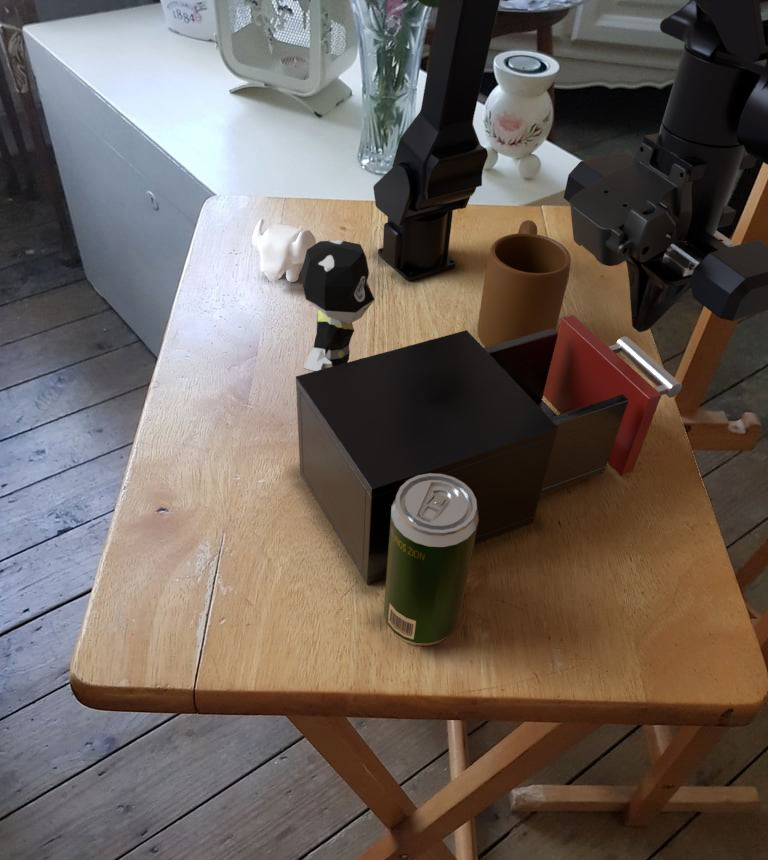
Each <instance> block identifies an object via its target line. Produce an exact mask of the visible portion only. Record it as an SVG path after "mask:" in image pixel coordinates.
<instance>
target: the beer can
mask: <svg viewBox="0 0 768 860" xmlns="http://www.w3.org/2000/svg"><path fill="white" fill-rule="evenodd" d="M478 521H479V519H478V510H477V502H476V498H475V496H474V494H473V492H472V490H471V489H470V488H469V487H468V486H467V485H466V484H465V483H463V482H461V481H460V480H458V479H456V478H454V477H451V476H447V475H444V474H433V473H429V474H423V475H418V476H416V477H413V478H411V479H409V480H407V481H406V482H405V483H404V484H403V485H402V486H401V487H400V489H399V491H398V493H397V495H396V498H395V500H394V502H393V504H392V506H391V520H390V533H389V546H388V559H387V572H386V578H385V585H384V586H385V587H384V599H383V601H384V602H383V617H384V619H385V622H386V625H387V626H388V627H389V629H390V630H391V631H392V632H393V634H394V635H395V636H396V637H397V638H399V639H400V640H401V641H403V642H405V643H408V644H411V645H414V646H420V647H421V646H422V647H423V646H424V647H427V646H432V645H436V644H438V643H440V642H441V641H443V640H445V639H446V638H448V637H450V635H451V634H452V633H453V632H454V631H455V629H457V626H458V625H459V624H458V623H459V621H460V617H461V613H462V607H463V602H464V597H465V592H466V587H467V583H468V577H469V572H470V567H471V561H472V556H473V551H474V546H475V545H474V542H475V537H476V531H477V526H478Z"/></svg>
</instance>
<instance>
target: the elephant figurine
mask: <svg viewBox="0 0 768 860" xmlns="http://www.w3.org/2000/svg"><path fill="white" fill-rule="evenodd" d="M264 223H265V219H263V218H261V219H260V220H258V222H257V224H256V225H255V228H254V230H253V233H252V237H251V244H252V247H253V249H254V251H255V252H256V253H257V254H258V255H259V256H260V264H259V269H260V274H261V275H260V276H263V273H264V275H265V276H266V278H267V280H268V281H269V282H271V283H273V284H276V283H277V282H278V281H279V279H281V278H282V277H283V275H284V274H285V277H286V280H287V281H288V282H291V283H294V282H297V281H298V279H299V276H300V273H301V270H302V267H303V264H304V260H305V256H306V252H307V249H309V248H310V247H312V246H313V245H315V244H316V243H317V241H316V237H315V235H314V234H313V232H311V230H310V229H303V228H302V225H299V227H295V226H291V225H286V224H282V223H274V224H272V225H271V226H270V227H268V229H267V230H266V231H265V232H264V233H262V232H263V231H262V229H263V227H264Z"/></svg>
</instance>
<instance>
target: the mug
mask: <svg viewBox="0 0 768 860" xmlns="http://www.w3.org/2000/svg"><path fill="white" fill-rule="evenodd" d="M571 263H572V257H571V254H570V252H569V250H568V249H567V247H565V245H563V244H562V243H561V242H559V241H557V240H555V239H553V238H551V237H548V236H544V235H540V234H538V225H537V224H536V222H534V221H533V220H530V219H528V220H524V221H522V222H521V223H520V225H519V228H518V233H513V234H512V233H511V234H507V235H504V236H502V237H500V238H497V240H495V241H494V242H493V243H492V245H491V247H490V251H489V255H488V259H487V262H486V268H485V274H484V280H483V287H482V292H481V293H482V294H481V300H480V308H479V314H478V321H477V335H478V338H479V341H480V342H481V343H482V345H483V346H484V348H485V347H488V346H492V345H496V344H499V343H503V342H506V341H510V340H513V339H517V338H520V337H524V336H527V335H531V334H535V333H538V332H542V331H545V330H549V329H554V330H555V331H556V332H557V327H558V322H559V319H560V315H561V311H562V307H563V303H564V299H565V295H566V290H567V286H568V281H569V276H570V269H571Z"/></svg>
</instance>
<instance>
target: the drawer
mask: <svg viewBox="0 0 768 860" xmlns="http://www.w3.org/2000/svg"><path fill="white" fill-rule="evenodd" d="M483 348H484V349H485V350H486V351H487V352H488V353H489V354H490V355H491V356H492V357H493V359H494V360H495V361H496V362H497V363H498V364H499V365H500V366H501V367H502V368H503V369H504V370H505V371H506V372H507V373H508V374H509V376H510V377H511V378H512V379H513V380H514V381H515V382H516V383H517V384H518V385H519V386H520V387H521V388H522V389H523V390H524V391H525V392H526V394H527V395H528V396H529V397H530V398H531V399H532V400H533V401H534V402H535V403H536V404H537V405H538V406H539V407H540V408H541V409H542V411H543V412H544V413H545V414H546V415H547V416H548V417H549V418H550V419H551V420H552V421H553V422H554V423H555V424H556V425H557V426H558V431H557V434H556V438H555V442H554V446H553V449H552V453H551V457H550V460H549V464H548V468H547V472H546V475H545V479H544V483H543V486H542V490H541V494H540V497H542V496H545V495H547V494H551V493H554V492H555V491H558V490H562V489H565V488H567V487H570V486H572V485H575V484H578V483H581V482H583V481H587V480H589V479H591V478H594V477H597V476H599V475H603V474H604V473H605V470H606V467H607V466H608V465H609V466H610V467H611V468H612V469H613V470H614V471H615V472H616V473H617V474H618V475H619V476H620V477H624V476H626V475H629V474H631V473H633V471H634V469H635V466H636V464H637V461H638V458H639V456H640V453H641V450H642V448H643V445H644V442H645V440H646V437H647V435H648V432H649V429H650V427H651V424H652V422H653V418H654V417H655V414H656V411H657V408H658V406H659V403H660V400H661V398H662V396H664V395H665V396H667V398H673V397H675V396H677V395H678V394H679V393H680V392H681V390H682V388H683V384H682V383H681V382H680V381H679V380H678V379H676V378H675V377H674V376H673V375H672V374H671V373H669V372H668V370H666V369H665V368H664V367H662V365H660V364H659V363H658V362H657V361H656V360H655V359H653V357H651V356H650V355H649V354H648V353H647V352H646V351H644V350H643V349H642V348H641V347H640V346H639V345H638V344H636V342H634V341H633V340H632V339H630V337H628V336H627V335H624V336H621V337H620V338H618V340H617V341H616V342H615V343H614V344H612V345H607V344H606V343H605V342H604V341H602V339H600V337H598V336H597V335H596V334H595V333H594V332H593V331H592V330H590V329H589V327H587V326H586V325H585V324H584V322H583V323H582V321H580V319H578V317H576V316H575V315H574V314H572V315H567V316H564V317H562V318H561V320H560V323H559V328H558V332H557V330H556V331H555V330H554V329H549V330H545V331H542V332H538V333H535V334H531V335H527V336H524V337H520V338H517V339H513V340H510V341H506V342H503V343H499V344H496V345H492V346H488V347H485V346H484V347H483ZM618 354H620V355H621V356H622V357H623V358H624V359H626V361H628V362H629V363H630V364H631V365H632V366H633V367H635V369H636V370H638V371H639V372H640V373H641V374H642V375H643V376H645V378H646V379H648V380H649V381H650V382H651V383H652V384H653V385H654V386H653V385H651V383H649V382H648V381H647V380H646V379H645V378H643V377H642V375H640V373H638V372H637V371H636V370H635V369H634V368H632V366H630V365H629V364H628V363H627V362H626V361H625V360H623V358H622V357H621V356H620V355H618ZM543 398H545V399H546V400H547V401H548V402H549V403H550V404H551V405H552V406H553V407H554V408H555V410H557V412H558V413H559V414H556V413H555V412H554V411H553V410H552V409H551V407H550V406H549V405H548V404H547V403H546V402H545V401H544V400H543Z"/></svg>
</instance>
